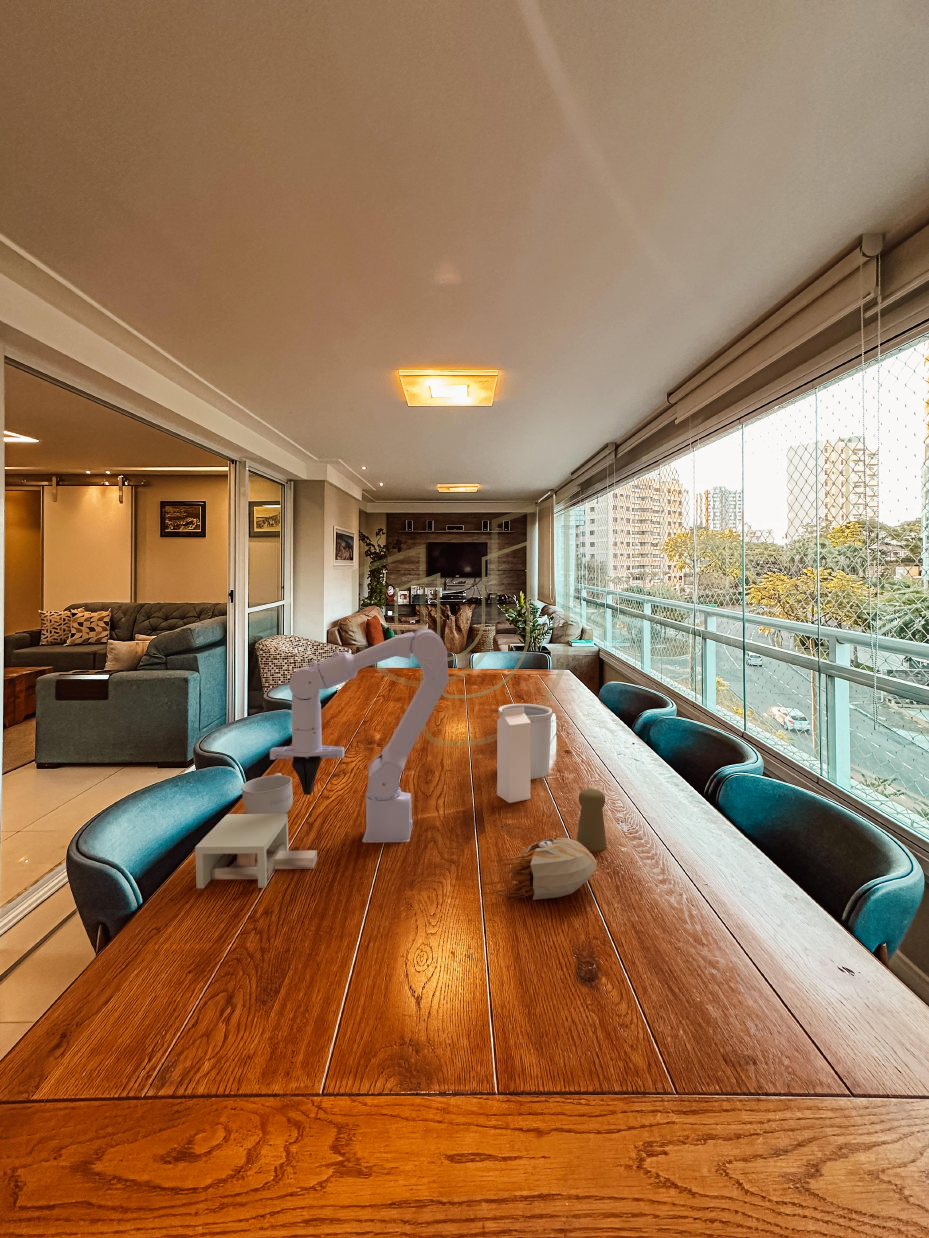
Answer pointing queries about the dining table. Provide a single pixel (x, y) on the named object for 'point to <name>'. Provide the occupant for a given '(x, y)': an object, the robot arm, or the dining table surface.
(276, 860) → the drawer with block handle
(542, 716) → the utensil holder
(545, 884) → the nautilus
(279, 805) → the teacup
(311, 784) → the robot arm
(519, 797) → the milk
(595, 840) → the pepper mill
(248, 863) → the tan rounded block
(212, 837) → the grey bridge stand
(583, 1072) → the dining table surface
